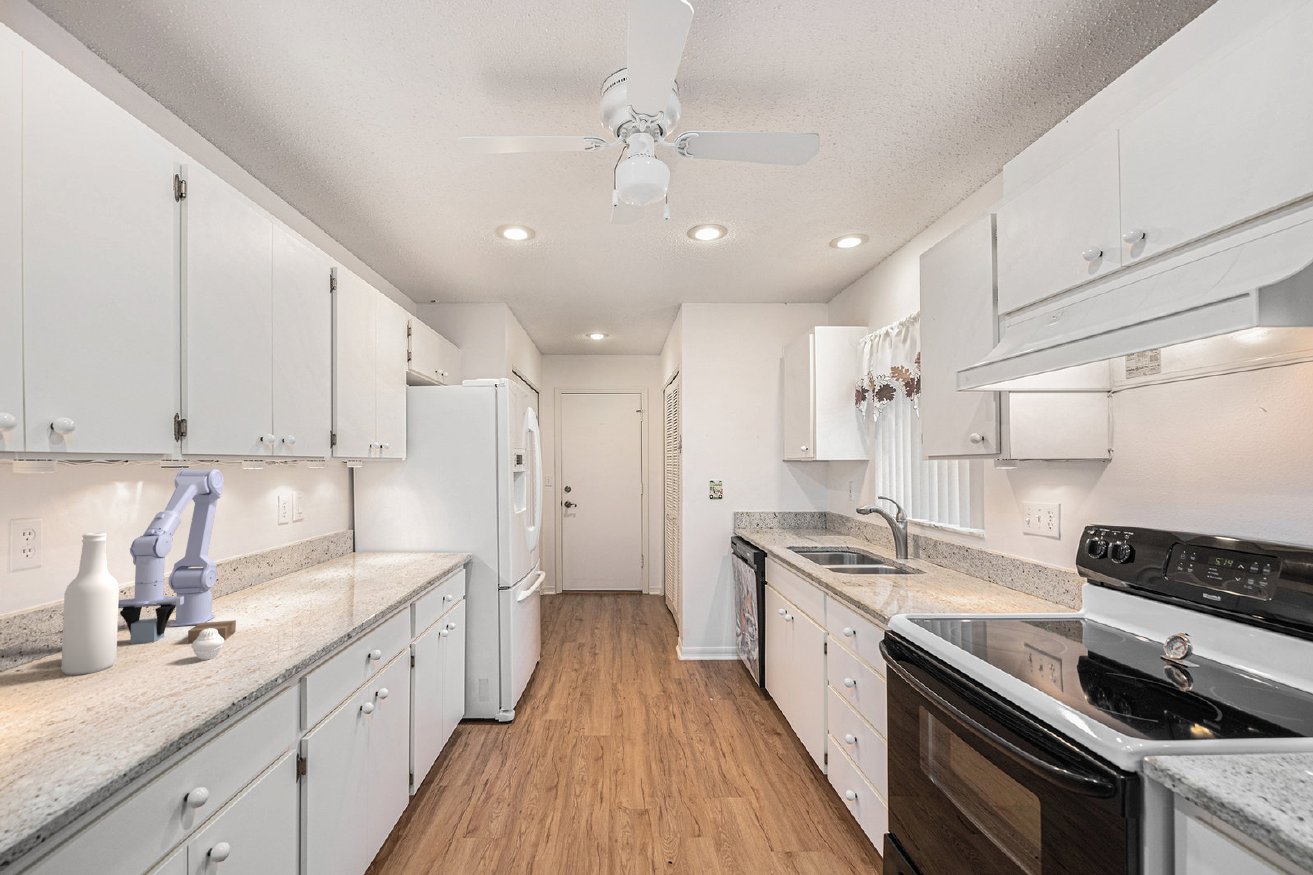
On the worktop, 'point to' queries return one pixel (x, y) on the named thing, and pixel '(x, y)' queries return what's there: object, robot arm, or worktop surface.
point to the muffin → (208, 644)
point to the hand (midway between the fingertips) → (147, 634)
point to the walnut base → (223, 628)
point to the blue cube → (144, 631)
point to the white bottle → (90, 612)
